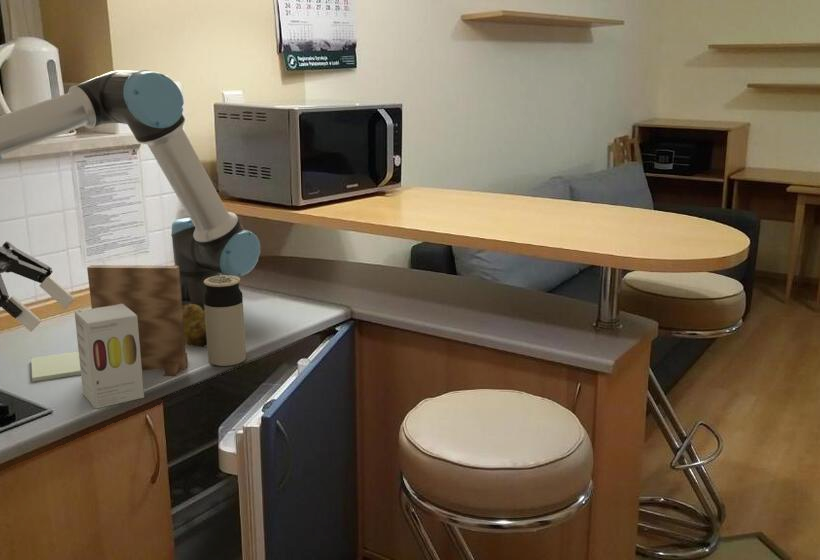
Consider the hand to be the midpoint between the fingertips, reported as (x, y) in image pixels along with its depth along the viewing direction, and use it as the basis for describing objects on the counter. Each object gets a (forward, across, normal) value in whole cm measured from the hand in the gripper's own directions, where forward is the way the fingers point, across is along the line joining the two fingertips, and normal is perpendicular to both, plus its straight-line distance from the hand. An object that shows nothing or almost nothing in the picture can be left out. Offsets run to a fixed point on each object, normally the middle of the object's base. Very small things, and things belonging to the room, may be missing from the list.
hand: (54, 314), depth 147 cm
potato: (+23, -31, 0) cm, 39 cm away
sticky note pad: (+6, -14, -17) cm, 23 cm away
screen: (+19, -14, -4) cm, 24 cm away
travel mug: (+30, -19, +7) cm, 37 cm away
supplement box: (+18, 0, -5) cm, 19 cm away
